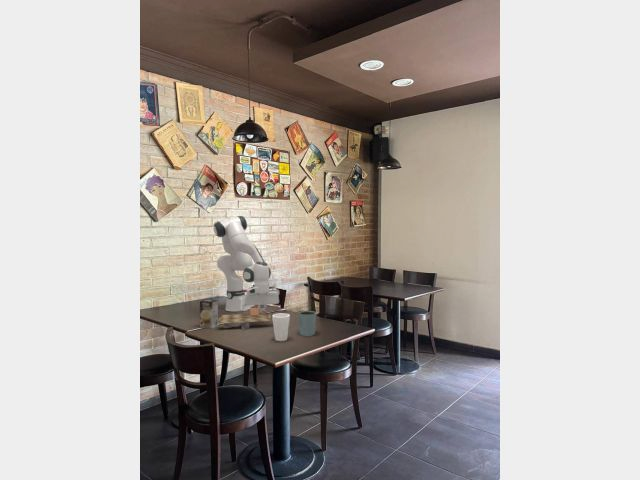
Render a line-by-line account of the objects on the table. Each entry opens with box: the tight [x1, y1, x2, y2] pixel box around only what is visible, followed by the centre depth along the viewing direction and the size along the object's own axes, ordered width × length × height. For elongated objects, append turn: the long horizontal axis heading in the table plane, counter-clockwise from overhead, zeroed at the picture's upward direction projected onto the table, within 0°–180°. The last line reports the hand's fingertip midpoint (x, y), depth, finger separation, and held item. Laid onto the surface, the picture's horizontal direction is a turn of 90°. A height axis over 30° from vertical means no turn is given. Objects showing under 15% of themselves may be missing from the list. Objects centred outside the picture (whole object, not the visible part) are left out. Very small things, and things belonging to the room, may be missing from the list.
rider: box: [249, 305, 260, 316], centre depth 236 cm, size 5×6×6 cm
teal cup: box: [298, 310, 317, 337], centre depth 222 cm, size 10×10×12 cm
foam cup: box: [271, 312, 291, 342], centre depth 212 cm, size 10×9×13 cm
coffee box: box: [199, 298, 219, 329], centre depth 238 cm, size 9×6×16 cm
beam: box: [218, 312, 272, 330], centre depth 235 cm, size 30×8×8 cm, turn 102°
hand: (262, 311), depth 238 cm, fingers closed
